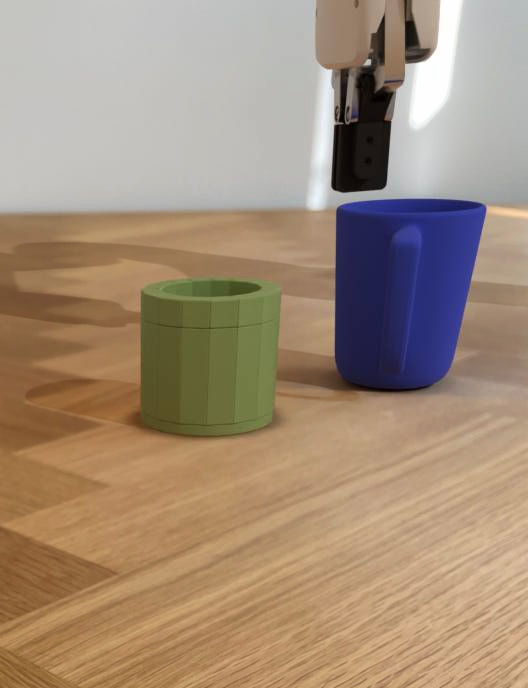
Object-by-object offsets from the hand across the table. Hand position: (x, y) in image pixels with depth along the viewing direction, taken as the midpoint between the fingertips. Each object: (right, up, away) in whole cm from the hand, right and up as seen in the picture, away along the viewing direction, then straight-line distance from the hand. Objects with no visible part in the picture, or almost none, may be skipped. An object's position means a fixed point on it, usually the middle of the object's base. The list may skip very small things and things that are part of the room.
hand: (358, 189), depth 69 cm
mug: (0, -15, -6) cm, 16 cm away
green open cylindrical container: (-12, -17, -10) cm, 23 cm away
